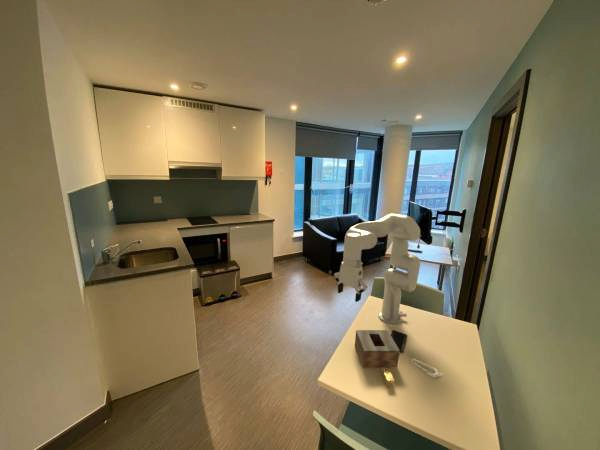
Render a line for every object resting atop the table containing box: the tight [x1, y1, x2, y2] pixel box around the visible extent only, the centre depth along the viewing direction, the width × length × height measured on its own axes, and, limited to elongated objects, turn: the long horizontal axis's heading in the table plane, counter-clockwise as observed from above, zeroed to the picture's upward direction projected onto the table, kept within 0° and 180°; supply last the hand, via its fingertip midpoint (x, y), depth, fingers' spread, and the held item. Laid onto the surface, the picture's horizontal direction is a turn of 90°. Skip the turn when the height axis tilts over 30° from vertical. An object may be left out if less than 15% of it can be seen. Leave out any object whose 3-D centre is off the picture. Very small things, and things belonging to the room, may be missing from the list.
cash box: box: [354, 329, 401, 369], centre depth 115 cm, size 16×14×9 cm
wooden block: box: [380, 368, 395, 388], centre depth 102 cm, size 3×6×4 cm, turn 2°
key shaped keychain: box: [410, 358, 443, 379], centre depth 109 cm, size 13×5×2 cm, turn 48°
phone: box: [390, 329, 408, 353], centre depth 126 cm, size 8×1×15 cm
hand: (348, 296), depth 109 cm, fingers open, 9 cm apart
